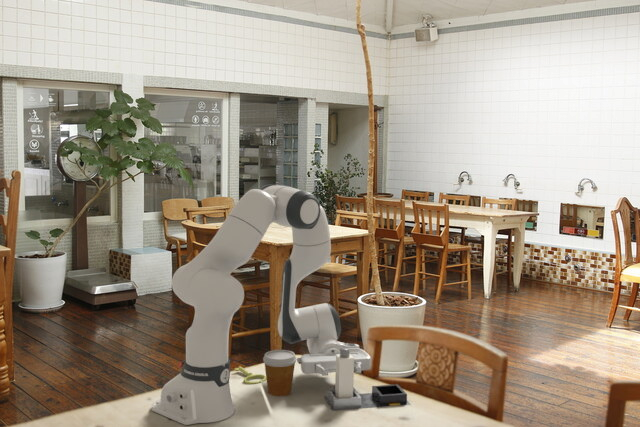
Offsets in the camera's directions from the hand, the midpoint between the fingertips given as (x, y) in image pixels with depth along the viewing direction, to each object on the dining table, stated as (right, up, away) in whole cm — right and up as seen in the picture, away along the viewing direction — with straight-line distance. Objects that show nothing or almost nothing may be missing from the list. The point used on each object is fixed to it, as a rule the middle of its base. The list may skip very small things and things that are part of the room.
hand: (342, 371), depth 191 cm
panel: (+7, -9, +1) cm, 11 cm away
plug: (0, -8, -1) cm, 8 cm away
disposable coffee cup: (-18, -8, +6) cm, 20 cm away
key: (-28, -7, +20) cm, 35 cm away
